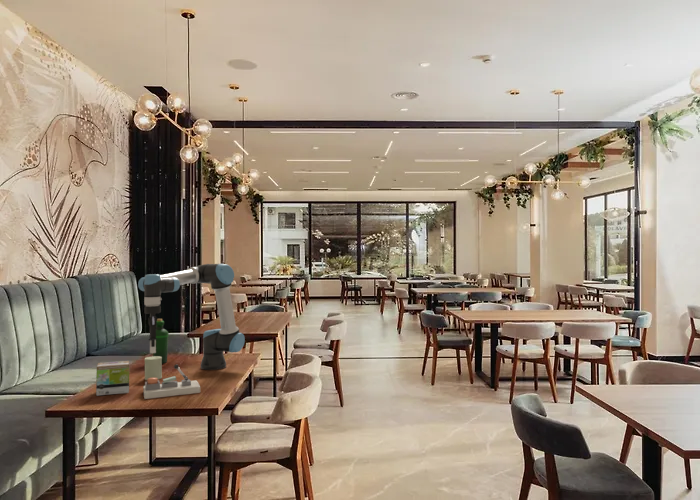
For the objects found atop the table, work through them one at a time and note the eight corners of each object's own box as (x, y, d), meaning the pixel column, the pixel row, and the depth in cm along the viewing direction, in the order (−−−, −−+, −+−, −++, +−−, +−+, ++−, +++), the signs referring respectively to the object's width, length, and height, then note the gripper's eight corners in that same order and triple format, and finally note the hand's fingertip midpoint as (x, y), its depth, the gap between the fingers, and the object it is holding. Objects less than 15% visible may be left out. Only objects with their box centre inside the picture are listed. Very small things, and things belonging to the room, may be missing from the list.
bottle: (162, 360, 335) (162, 317, 335) (172, 362, 328) (171, 318, 329) (147, 363, 326) (147, 319, 326) (157, 365, 320) (157, 320, 320)
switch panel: (196, 385, 269) (196, 374, 269) (200, 392, 256) (200, 380, 256) (143, 391, 258) (143, 380, 258) (144, 399, 245) (144, 386, 245)
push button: (157, 383, 257) (157, 377, 257) (157, 385, 252) (157, 379, 252) (147, 384, 255) (147, 378, 255) (147, 386, 250) (147, 380, 250)
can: (156, 380, 281) (155, 358, 281) (141, 380, 283) (140, 358, 283) (165, 376, 290) (165, 355, 290) (150, 376, 292) (150, 355, 292)
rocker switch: (175, 378, 260) (175, 375, 260) (176, 379, 256) (175, 377, 256) (163, 381, 257) (162, 379, 257) (163, 383, 254) (163, 380, 254)
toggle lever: (188, 377, 262) (176, 363, 259) (189, 378, 259) (177, 363, 257) (185, 380, 261) (172, 365, 259) (185, 381, 259) (173, 366, 256)
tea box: (96, 396, 250) (95, 366, 251) (97, 391, 260) (97, 362, 260) (129, 393, 256) (129, 363, 257) (129, 388, 266) (129, 359, 266)
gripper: (161, 306, 249) (161, 354, 249) (159, 303, 261) (160, 350, 261) (145, 306, 246) (145, 355, 246) (144, 304, 258) (144, 351, 258)
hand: (152, 352), depth 254 cm, fingers closed
